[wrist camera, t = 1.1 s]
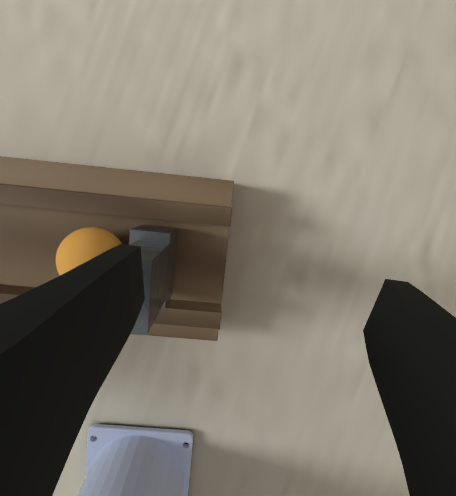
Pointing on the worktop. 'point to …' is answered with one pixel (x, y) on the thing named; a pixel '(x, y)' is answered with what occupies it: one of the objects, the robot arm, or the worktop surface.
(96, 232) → the ball
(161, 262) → the gray l-shaped bracket
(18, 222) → the brown wooden moulding block
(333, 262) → the worktop surface
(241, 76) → the worktop surface
